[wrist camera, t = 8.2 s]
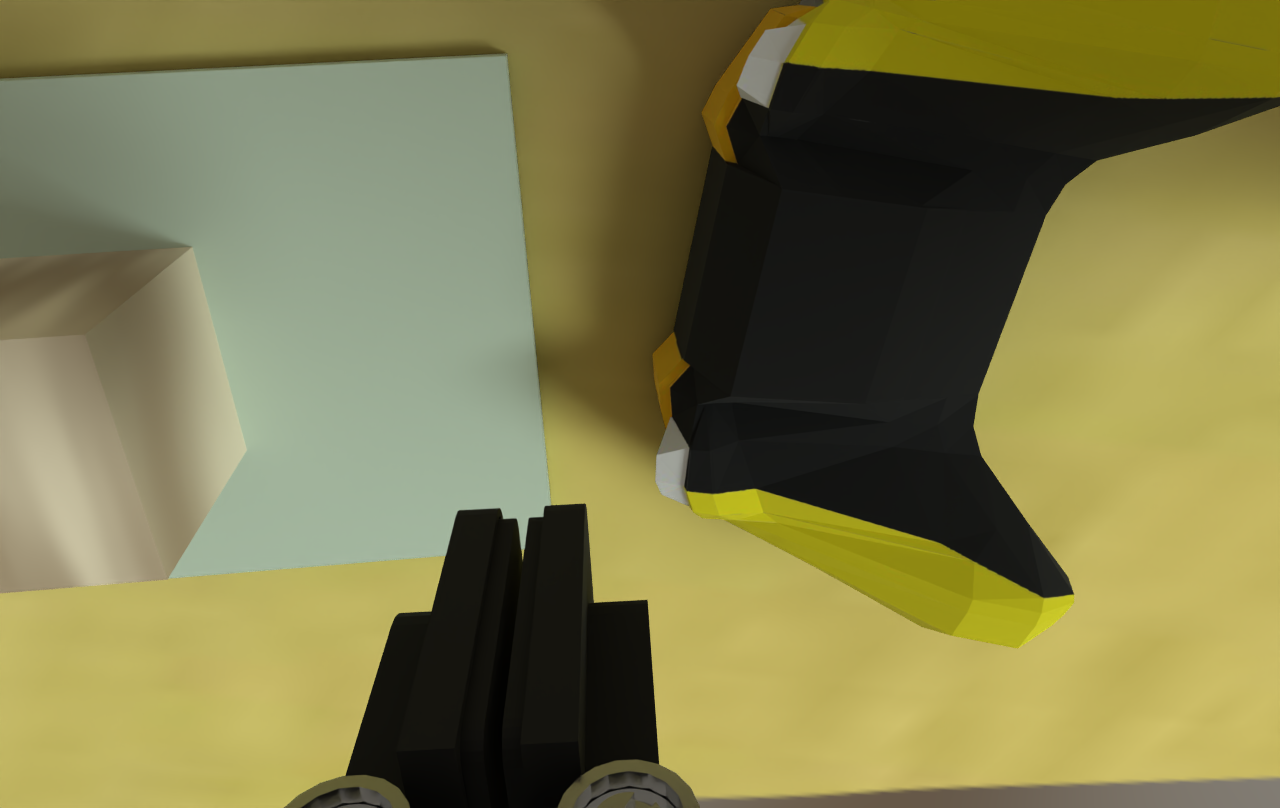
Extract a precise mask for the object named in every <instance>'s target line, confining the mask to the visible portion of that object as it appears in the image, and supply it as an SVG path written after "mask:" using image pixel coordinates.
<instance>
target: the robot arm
mask: <svg viewBox="0 0 1280 808" xmlns="http://www.w3.org/2000/svg"><path fill="white" fill-rule="evenodd" d="M284 808H700V806H699V804H698V802H697V800H696V798H695V796H694V794H693V792H692V790H691V788H690V786H689V785H688V784H687V783H685V782H684V781H683V780H682V779H681V778H680V777H679V776H678V775H677V774H676V773H675V772H673V771H671V770H669V769H667V768H665V767H663V766H661V765H659V756H658V742H657V728H656V714H655V699H654V685H653V671H652V657H651V643H650V629H649V615H648V602H647V600H637V601H618V602H600V603H594V600H593V586H592V573H591V560H590V546H589V533H588V520H587V509H586V504H569V505H550V506H545V507H544V513H543V517H529V519H528V526H527V534H526V542H525V550H524V557H523V560H522V551H521V543H520V534H519V526H518V521H517V519H516V518H510V519H503V515H502V511H501V509H500V508H492V509H473V510H459V511H457V514H456V517H455V521H454V525H453V529H452V533H451V537H450V541H449V545H448V549H447V553H446V557H445V561H444V564H443V568H442V572H441V576H440V580H439V584H438V588H437V592H436V596H435V600H434V604H433V608H432V612H413V613H399V614H398V615H397V616H396V617H395V619H394V621H393V623H392V626H391V629H390V632H389V635H388V639H387V642H386V645H385V648H384V652H383V655H382V658H381V662H380V665H379V668H378V671H377V675H376V678H375V681H374V684H373V688H372V691H371V694H370V697H369V701H368V704H367V707H366V710H365V714H364V717H363V720H362V723H361V727H360V730H359V733H358V737H357V740H356V743H355V746H354V750H353V753H352V756H351V759H350V763H349V766H348V769H347V772H346V776H342V777H338V778H335V779H332V780H329V781H325V782H322V783H319V784H318V785H316V786H314V787H312V788H310V789H309V790H307V791H305V792H303V793H301V794H300V795H298V796H297V797H296V798H295V799H294V800H292V801H291V802H290V803H289V804H288V805H287V806H285V807H284Z"/></svg>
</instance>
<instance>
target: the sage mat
mask: <svg viewBox="0 0 1280 808" xmlns="http://www.w3.org/2000/svg"><path fill="white" fill-rule="evenodd" d="M180 247H193V251H194V255H195V258H196V262H197V266H198V270H199V273H200V277H201V281H202V284H203V288H204V292H205V296H206V299H207V303H208V307H209V311H210V314H211V318H212V322H213V326H214V329H215V333H216V337H217V341H218V344H219V348H220V352H221V356H222V359H223V363H224V367H225V370H226V374H227V378H228V382H229V385H230V389H231V393H232V397H233V400H234V404H235V408H236V412H237V415H238V419H239V423H240V427H241V430H242V434H243V438H244V442H245V445H246V449H247V451H246V452H245V454H244V456H243V457H242V459H241V461H240V462H239V464H238V466H237V467H236V469H235V470H234V472H233V474H232V475H231V477H230V479H229V480H228V482H227V483H226V485H225V487H224V488H223V490H222V492H221V493H220V495H219V496H218V498H217V500H216V501H215V503H214V505H213V506H212V508H211V510H210V511H209V513H208V514H207V516H206V518H205V519H204V521H203V523H202V524H201V526H200V527H199V529H198V531H197V532H196V534H195V536H194V537H193V539H192V540H191V542H190V544H189V545H188V547H187V549H186V550H185V552H184V553H183V555H182V557H181V558H180V560H179V562H178V563H177V565H176V567H175V568H174V570H173V571H172V573H171V575H170V576H169V578H180V577H192V576H205V575H217V574H229V573H241V572H253V571H265V570H277V569H290V568H302V567H314V566H326V565H338V564H350V563H362V562H375V561H387V560H399V559H411V558H423V557H435V556H446V553H447V549H448V545H449V541H450V537H451V533H452V529H453V525H454V521H455V517H456V514H457V511H459V510H473V509H492V508H500V509H501V511H502V515H503V519H510V518H516V519H517V521H518V526H519V534H520V543H521V549H525V542H526V534H527V526H528V519H529V517H543V513H544V507H545V506H550V505H551V499H550V488H549V478H548V468H547V458H546V447H545V437H544V427H543V417H542V406H541V396H540V386H539V376H538V366H537V355H536V345H535V335H534V325H533V314H532V304H531V294H530V284H529V274H528V263H527V253H526V243H525V233H524V222H523V212H522V202H521V192H520V181H519V171H518V161H517V151H516V141H515V130H514V120H513V110H512V100H511V89H510V79H509V69H508V59H507V53H506V54H486V55H466V56H446V57H426V58H406V59H386V60H365V61H345V62H325V63H305V64H285V65H265V66H245V67H225V68H204V69H184V70H164V71H144V72H124V73H104V74H84V75H64V76H43V77H23V78H3V79H0V258H17V257H33V256H49V255H66V254H82V253H99V252H115V251H131V250H148V249H164V248H180Z"/></svg>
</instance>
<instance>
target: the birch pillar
mask: <svg viewBox="0 0 1280 808" xmlns="http://www.w3.org/2000/svg"><path fill="white" fill-rule="evenodd" d="M246 451H247V449H246V445H245V442H244V438H243V434H242V430H241V427H240V423H239V419H238V415H237V412H236V408H235V404H234V400H233V397H232V393H231V389H230V385H229V382H228V378H227V374H226V370H225V367H224V363H223V359H222V356H221V352H220V348H219V344H218V341H217V337H216V333H215V329H214V326H213V322H212V318H211V314H210V311H209V307H208V303H207V299H206V296H205V292H204V288H203V284H202V281H201V277H200V273H199V270H198V266H197V262H196V258H195V255H194V251H193V247H180V248H164V249H148V250H131V251H115V252H99V253H82V254H66V255H49V256H33V257H17V258H0V593H10V592H22V591H34V590H46V589H58V588H70V587H83V586H95V585H107V584H119V583H131V582H143V581H155V580H167V579H168V578H169V576H170V575H171V573H172V571H173V570H174V568H175V567H176V565H177V563H178V562H179V560H180V558H181V557H182V555H183V553H184V552H185V550H186V549H187V547H188V545H189V544H190V542H191V540H192V539H193V537H194V536H195V534H196V532H197V531H198V529H199V527H200V526H201V524H202V523H203V521H204V519H205V518H206V516H207V514H208V513H209V511H210V510H211V508H212V506H213V505H214V503H215V501H216V500H217V498H218V496H219V495H220V493H221V492H222V490H223V488H224V487H225V485H226V483H227V482H228V480H229V479H230V477H231V475H232V474H233V472H234V470H235V469H236V467H237V466H238V464H239V462H240V461H241V459H242V457H243V456H244V454H245V452H246Z"/></svg>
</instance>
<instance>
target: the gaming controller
mask: <svg viewBox="0 0 1280 808" xmlns="http://www.w3.org/2000/svg"><path fill="white" fill-rule="evenodd" d="M1278 106H1280V0H801V2H800V3H799V5H794V6H786V7H779V8H772V9H770V10H769V12H768V13H767V14H766V16H765V17H764V18H763V20H762V21H761V23H760V24H759V25H758V27H757V28H756V30H755V31H754V32H753V34H752V35H751V36H750V38H749V39H748V41H747V42H746V43H745V45H744V46H743V48H742V49H741V50H740V52H739V53H738V54H737V56H736V57H735V59H734V60H733V61H732V63H731V64H730V66H729V67H728V68H727V70H726V71H725V73H724V74H723V75H722V77H721V78H720V79H719V81H718V82H717V84H716V85H715V87H714V89H713V91H712V93H711V95H710V97H709V99H708V101H707V103H706V105H705V107H704V109H703V111H702V116H703V119H704V122H705V125H706V128H707V131H708V134H709V137H710V139H711V142H712V145H713V146H712V151H711V155H710V160H709V165H708V170H707V174H706V179H705V184H704V188H703V193H702V198H701V203H700V207H699V212H698V217H697V222H696V226H695V231H694V236H693V241H692V245H691V250H690V255H689V260H688V264H687V269H686V274H685V278H684V283H683V288H682V293H681V297H680V302H679V307H678V312H677V316H676V321H675V326H674V332H673V333H672V334H671V335H670V336H669V337H668V338H667V339H666V340H665V341H664V342H663V343H662V345H661V346H660V347H659V348H658V349H657V350H656V351H655V352H654V353H653V354H652V355H653V368H654V381H655V386H656V390H657V395H658V400H659V404H660V409H661V413H662V417H663V421H664V425H665V429H666V431H665V434H664V436H663V439H662V442H661V445H660V447H659V450H658V453H657V459H656V481H655V482H656V484H657V486H658V488H659V490H660V492H661V494H662V495H664V496H666V497H669V498H671V499H673V500H676V501H678V502H680V503H683V504H685V505H687V506H690V508H691V509H692V511H693V512H694V513H695V514H697V515H698V516H700V517H701V518H708V519H724V520H726V521H728V522H730V523H732V524H734V525H736V526H737V527H739V528H741V529H743V530H745V531H747V532H749V533H751V534H753V535H755V536H757V537H759V538H761V539H763V540H765V541H766V542H768V543H770V544H772V545H774V546H776V547H778V548H780V549H782V550H784V551H786V552H787V553H789V554H791V555H793V556H795V557H797V558H799V559H801V560H803V561H805V562H806V563H808V564H810V565H812V566H814V567H816V568H818V569H819V570H821V571H823V572H825V573H827V574H828V575H830V576H832V577H834V578H836V579H837V580H839V581H841V582H843V583H845V584H846V585H848V586H850V587H852V588H853V589H855V590H857V591H859V592H861V593H862V594H864V595H866V596H868V597H869V598H871V599H873V600H875V601H877V602H878V603H880V604H882V605H884V606H886V607H887V608H889V609H891V610H893V611H894V612H896V613H898V614H900V615H902V616H903V617H905V618H907V619H909V620H910V621H912V622H914V623H916V624H918V625H919V626H921V627H924V628H928V629H931V630H934V631H938V632H941V633H945V634H948V635H951V636H956V637H961V638H967V639H972V640H977V641H982V642H987V643H992V644H997V645H1003V646H1008V647H1013V648H1019V647H1021V646H1022V645H1024V644H1025V643H1027V642H1028V641H1030V640H1031V639H1033V638H1034V637H1036V636H1037V635H1038V634H1040V633H1041V632H1043V631H1044V630H1046V629H1047V628H1049V627H1050V626H1052V625H1053V624H1054V623H1055V622H1056V621H1057V620H1058V619H1060V618H1061V617H1062V616H1063V615H1064V614H1065V613H1066V611H1067V610H1068V609H1069V608H1070V607H1071V606H1072V604H1073V603H1074V593H1073V590H1072V587H1071V584H1070V581H1069V578H1068V576H1067V575H1066V574H1065V572H1064V571H1063V570H1062V568H1061V567H1060V565H1059V564H1058V563H1057V561H1056V560H1055V559H1054V557H1053V556H1052V555H1051V553H1050V552H1049V551H1048V549H1047V548H1046V547H1045V545H1044V544H1043V543H1042V541H1041V540H1040V539H1039V537H1038V536H1037V535H1036V533H1035V532H1034V531H1033V529H1032V528H1031V527H1030V525H1029V524H1028V522H1027V521H1026V520H1025V518H1024V517H1023V515H1022V514H1021V512H1020V511H1019V510H1018V508H1017V507H1016V505H1015V504H1014V502H1013V501H1012V499H1011V498H1010V497H1009V495H1008V494H1007V492H1006V491H1005V489H1004V488H1003V487H1002V485H1001V484H1000V482H999V481H998V479H997V478H996V476H995V475H994V474H993V472H992V471H991V469H990V468H989V466H988V465H987V464H986V462H985V461H984V459H983V458H982V456H981V453H980V450H979V446H978V442H977V438H976V435H975V431H974V427H973V425H974V419H975V412H976V406H977V400H978V394H979V391H980V388H981V386H982V383H983V381H984V378H985V375H986V373H987V370H988V367H989V365H990V362H991V359H992V357H993V354H994V351H995V349H996V346H997V343H998V341H999V338H1000V335H1001V333H1002V330H1003V328H1004V325H1005V322H1006V320H1007V317H1008V314H1009V312H1010V309H1011V306H1012V304H1013V301H1014V298H1015V296H1016V293H1017V290H1018V288H1019V285H1020V283H1021V280H1022V277H1023V275H1024V272H1025V269H1026V267H1027V264H1028V261H1029V259H1030V256H1031V253H1032V251H1033V248H1034V245H1035V243H1036V240H1037V238H1038V235H1039V232H1040V230H1041V227H1042V224H1043V222H1044V219H1045V216H1046V214H1047V213H1048V211H1049V210H1050V208H1051V206H1052V205H1053V203H1054V202H1055V200H1056V199H1057V197H1058V195H1059V194H1060V192H1061V191H1062V189H1063V188H1064V186H1065V184H1067V183H1068V182H1069V181H1071V180H1072V179H1073V178H1074V177H1076V176H1077V175H1078V174H1080V173H1081V172H1082V171H1084V170H1085V169H1086V168H1088V167H1089V166H1090V165H1092V164H1093V163H1094V162H1095V161H1097V160H1100V159H1104V158H1108V157H1112V156H1116V155H1120V154H1124V153H1128V152H1132V151H1136V150H1140V149H1144V148H1147V147H1151V146H1155V145H1159V144H1163V143H1167V142H1171V141H1175V140H1179V139H1183V138H1187V137H1191V136H1195V135H1198V134H1200V133H1203V132H1206V131H1209V130H1212V129H1215V128H1218V127H1220V126H1223V125H1226V124H1229V123H1232V122H1235V121H1238V120H1241V119H1243V118H1246V117H1249V116H1252V115H1255V114H1258V113H1261V112H1263V111H1266V110H1269V109H1272V108H1275V107H1278Z"/></svg>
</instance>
